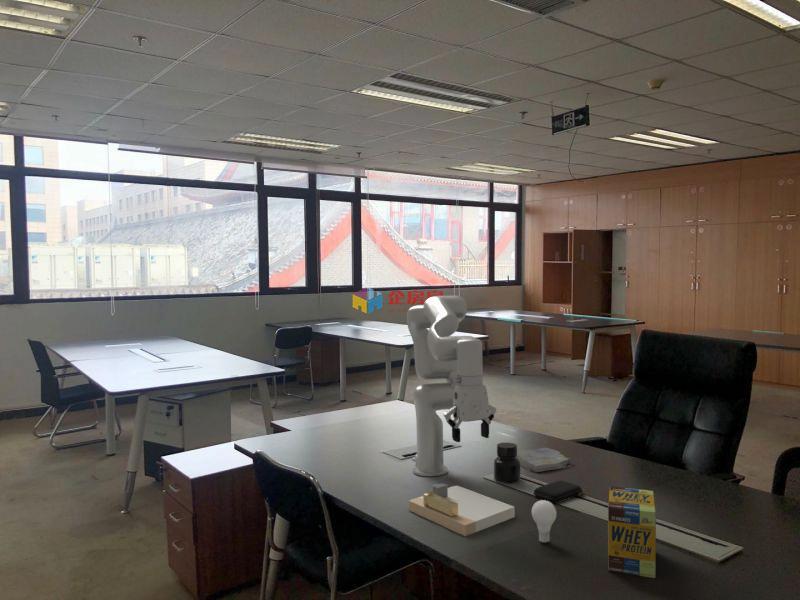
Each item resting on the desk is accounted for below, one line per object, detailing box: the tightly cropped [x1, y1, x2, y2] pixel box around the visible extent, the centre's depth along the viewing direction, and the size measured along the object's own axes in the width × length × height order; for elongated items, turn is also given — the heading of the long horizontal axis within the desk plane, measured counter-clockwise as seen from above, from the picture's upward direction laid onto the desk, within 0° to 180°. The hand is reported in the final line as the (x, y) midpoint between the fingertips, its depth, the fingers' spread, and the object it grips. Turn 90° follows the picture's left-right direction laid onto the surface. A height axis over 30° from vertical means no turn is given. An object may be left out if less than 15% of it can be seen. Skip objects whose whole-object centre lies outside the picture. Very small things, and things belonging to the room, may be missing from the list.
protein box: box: [607, 485, 657, 579], centre depth 145 cm, size 10×15×16 cm
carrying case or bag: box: [533, 480, 584, 504], centre depth 190 cm, size 11×3×15 cm
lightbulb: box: [531, 499, 558, 544], centre depth 156 cm, size 6×6×11 cm
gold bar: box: [422, 491, 458, 516], centre depth 171 cm, size 13×3×3 cm, turn 39°
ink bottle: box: [493, 442, 521, 484], centre depth 205 cm, size 10×9×12 cm
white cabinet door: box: [407, 482, 516, 537], centre depth 176 cm, size 24×20×6 cm
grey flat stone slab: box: [516, 447, 573, 473], centre depth 223 cm, size 20×5×17 cm
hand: (470, 439), depth 175 cm, fingers open, 9 cm apart
